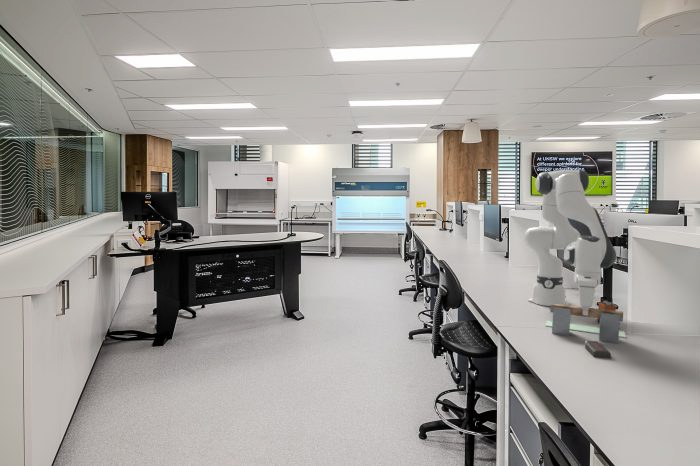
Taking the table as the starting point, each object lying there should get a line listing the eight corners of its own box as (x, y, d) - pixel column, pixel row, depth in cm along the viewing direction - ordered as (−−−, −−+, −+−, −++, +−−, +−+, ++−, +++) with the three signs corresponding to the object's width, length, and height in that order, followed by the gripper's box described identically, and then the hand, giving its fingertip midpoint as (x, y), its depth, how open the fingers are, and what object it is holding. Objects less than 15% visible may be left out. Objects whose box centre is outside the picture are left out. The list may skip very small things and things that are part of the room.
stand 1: (552, 329, 169) (554, 303, 168) (569, 331, 166) (571, 305, 165) (551, 333, 164) (553, 307, 163) (569, 335, 161) (570, 309, 160)
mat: (547, 321, 180) (547, 320, 180) (624, 332, 166) (624, 331, 166) (545, 326, 173) (545, 325, 173) (625, 337, 159) (625, 336, 159)
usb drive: (593, 358, 139) (594, 350, 139) (582, 346, 151) (582, 338, 150) (611, 359, 138) (611, 351, 138) (597, 347, 149) (598, 339, 149)
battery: (603, 326, 173) (604, 303, 172) (597, 322, 180) (598, 299, 179) (614, 327, 172) (616, 304, 171) (608, 323, 179) (609, 300, 178)
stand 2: (598, 336, 161) (600, 309, 160) (617, 338, 158) (618, 311, 157) (599, 340, 156) (600, 313, 155) (618, 343, 153) (619, 315, 152)
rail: (550, 312, 165) (550, 304, 165) (550, 310, 168) (551, 302, 167) (622, 321, 153) (623, 313, 153) (622, 319, 156) (622, 311, 155)
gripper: (578, 273, 170) (576, 306, 171) (577, 281, 152) (575, 318, 153) (596, 274, 167) (594, 308, 168) (597, 283, 149) (595, 321, 150)
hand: (585, 313), depth 160 cm, fingers closed on rail, 3 cm apart
